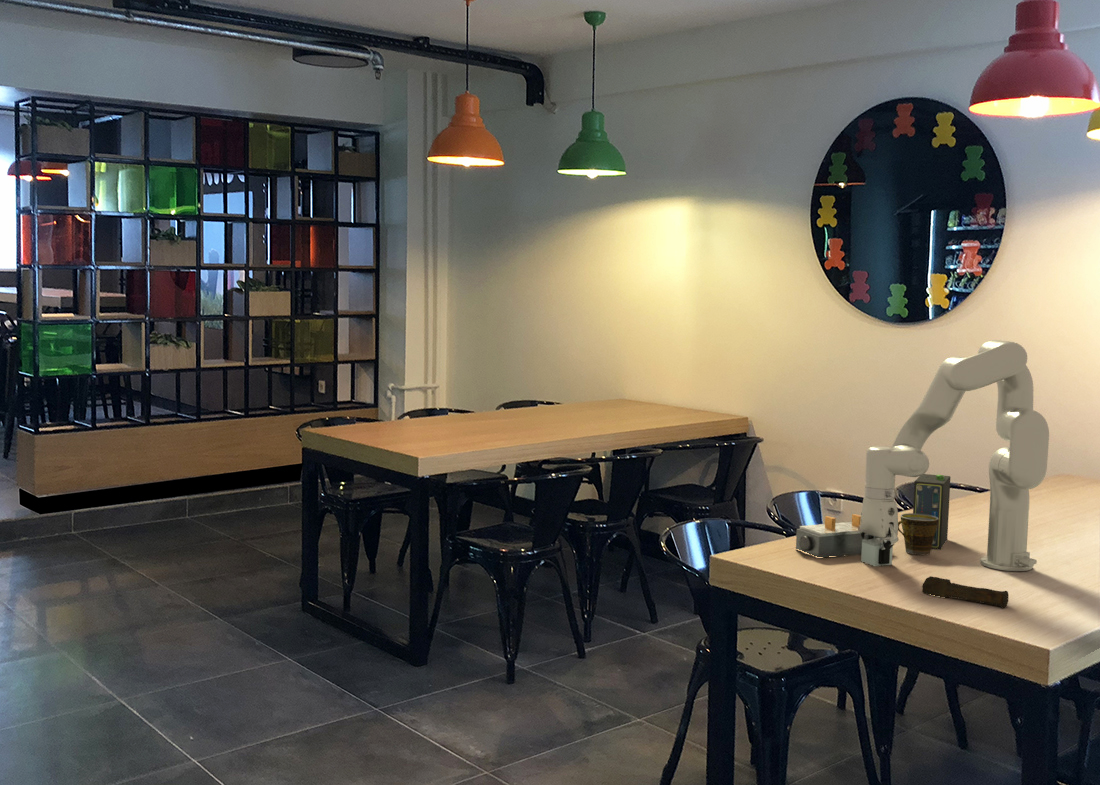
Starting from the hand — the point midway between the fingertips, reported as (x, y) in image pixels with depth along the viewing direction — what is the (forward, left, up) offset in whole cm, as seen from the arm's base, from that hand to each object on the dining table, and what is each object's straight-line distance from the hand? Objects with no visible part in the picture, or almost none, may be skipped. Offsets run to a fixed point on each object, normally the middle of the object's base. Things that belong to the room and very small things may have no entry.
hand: (876, 560), depth 273 cm
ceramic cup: (+6, -18, -1) cm, 19 cm away
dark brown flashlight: (-35, +4, -1) cm, 36 cm away
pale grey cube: (0, 0, -1) cm, 1 cm away
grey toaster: (+14, 0, -1) cm, 14 cm away
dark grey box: (+14, -31, -1) cm, 34 cm away
